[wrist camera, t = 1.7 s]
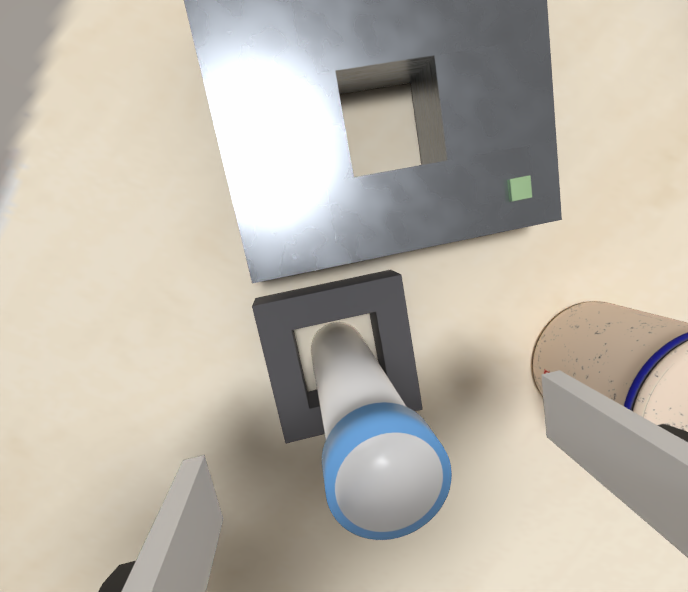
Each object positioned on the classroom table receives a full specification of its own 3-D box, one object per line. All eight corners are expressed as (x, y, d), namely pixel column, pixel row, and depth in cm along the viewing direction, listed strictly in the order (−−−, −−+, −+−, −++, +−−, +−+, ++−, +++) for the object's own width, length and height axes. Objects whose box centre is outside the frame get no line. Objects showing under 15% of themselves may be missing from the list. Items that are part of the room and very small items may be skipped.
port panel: (258, 273, 25) (251, 284, 20) (200, 30, 22) (178, -17, 17) (521, 220, 26) (565, 219, 22) (500, -12, 23) (546, -63, 19)
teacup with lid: (503, 375, 28) (646, 476, 17) (579, 272, 28) (780, 307, 16) (611, 449, 31) (797, 580, 20) (683, 357, 30) (919, 438, 19)
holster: (286, 423, 27) (285, 443, 24) (255, 298, 25) (252, 306, 22) (410, 393, 28) (422, 409, 25) (390, 269, 26) (401, 274, 23)
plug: (313, 383, 26) (339, 554, 13) (300, 325, 26) (313, 442, 12) (372, 369, 27) (458, 520, 13) (362, 311, 26) (442, 410, 12)
